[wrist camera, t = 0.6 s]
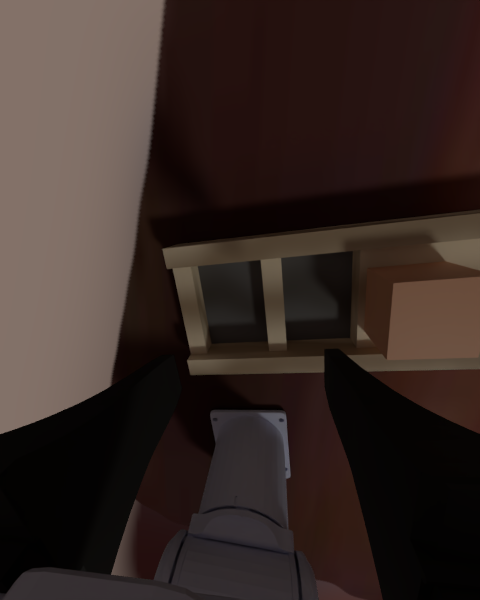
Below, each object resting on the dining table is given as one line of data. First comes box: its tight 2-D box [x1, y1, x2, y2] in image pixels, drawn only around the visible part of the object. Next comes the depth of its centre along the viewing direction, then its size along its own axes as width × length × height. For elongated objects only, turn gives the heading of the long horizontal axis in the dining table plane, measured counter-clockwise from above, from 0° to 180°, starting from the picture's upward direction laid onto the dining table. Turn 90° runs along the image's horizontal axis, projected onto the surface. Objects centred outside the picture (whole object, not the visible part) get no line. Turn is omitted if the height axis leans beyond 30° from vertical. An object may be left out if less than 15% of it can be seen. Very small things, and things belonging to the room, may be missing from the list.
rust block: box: [364, 261, 480, 360], centre depth 16 cm, size 5×5×4 cm
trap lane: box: [163, 209, 480, 375], centre depth 18 cm, size 11×30×3 cm, turn 97°
